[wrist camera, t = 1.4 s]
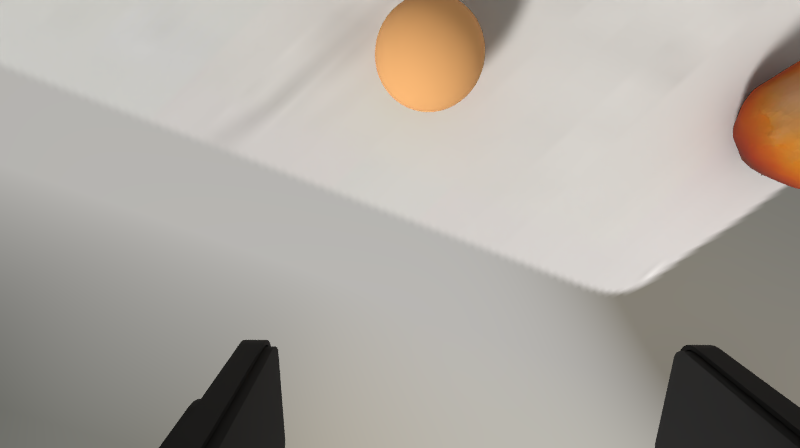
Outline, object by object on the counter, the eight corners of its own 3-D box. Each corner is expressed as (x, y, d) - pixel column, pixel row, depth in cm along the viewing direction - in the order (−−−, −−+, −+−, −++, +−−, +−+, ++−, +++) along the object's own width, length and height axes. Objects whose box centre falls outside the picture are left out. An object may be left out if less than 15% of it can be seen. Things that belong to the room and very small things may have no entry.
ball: (377, 110, 26) (371, 110, 20) (378, 7, 24) (372, -26, 18) (470, 113, 26) (491, 113, 20) (477, 10, 24) (502, -22, 18)
